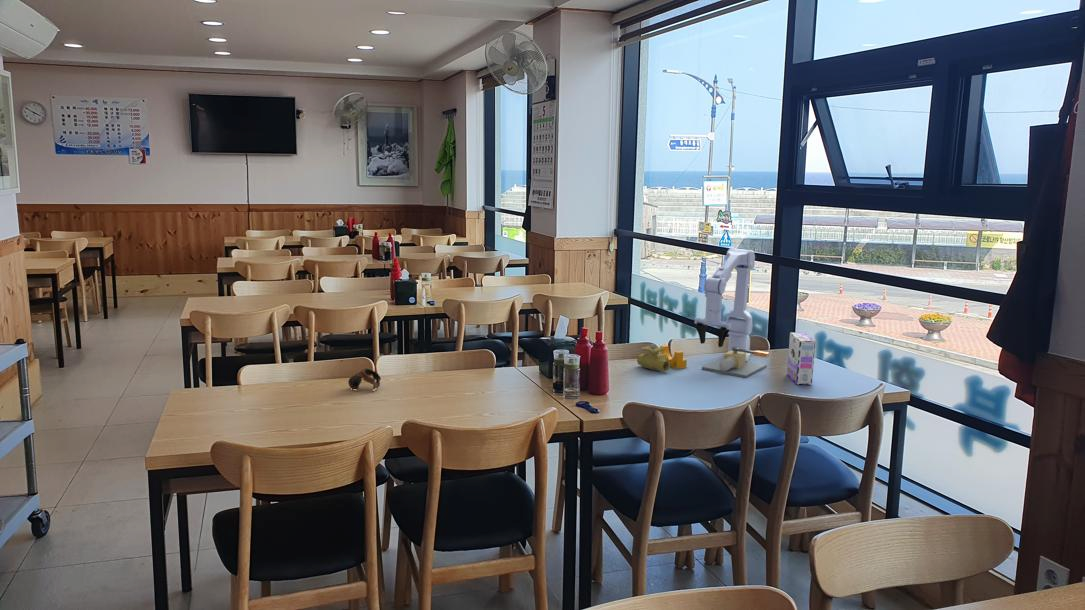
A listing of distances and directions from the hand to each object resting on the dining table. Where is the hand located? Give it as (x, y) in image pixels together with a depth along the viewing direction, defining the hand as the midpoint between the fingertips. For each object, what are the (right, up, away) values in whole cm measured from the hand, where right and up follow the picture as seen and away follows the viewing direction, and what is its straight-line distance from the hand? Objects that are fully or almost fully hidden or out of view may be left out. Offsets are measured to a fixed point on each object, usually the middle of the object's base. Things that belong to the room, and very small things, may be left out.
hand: (711, 344), depth 310 cm
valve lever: (+15, -3, 0) cm, 15 cm away
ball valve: (-21, -10, +3) cm, 23 cm away
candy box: (+30, -13, -9) cm, 34 cm away
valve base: (+10, -9, +5) cm, 14 cm away
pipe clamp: (-13, -8, +10) cm, 18 cm away
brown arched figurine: (-125, -14, -28) cm, 130 cm away
